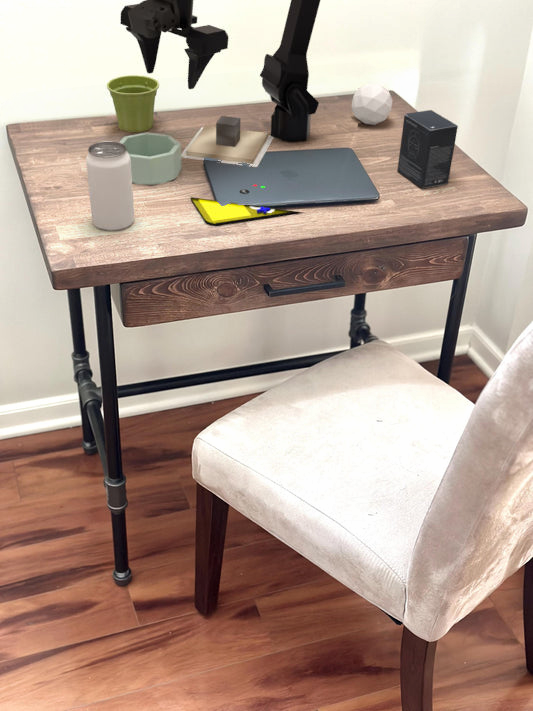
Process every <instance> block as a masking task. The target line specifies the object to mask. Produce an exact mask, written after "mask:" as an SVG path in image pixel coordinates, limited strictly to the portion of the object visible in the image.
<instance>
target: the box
mask: <svg viewBox="0 0 533 711" xmlns="http://www.w3.org/2000/svg"><path fill="white" fill-rule="evenodd" d="M402 123H403V124H402V131H401V140H400V149H399V155H398V156H399V157H398V162H397V173H399V174H401V175H402V176H403V177H405V178H406V179H408V180H409V181H410V182H412V183H414V184H415V185H416V186H418V187H419V188H420V189H429V188H434V187H439V186H445V185H448V183H449V179H450V173H451V168H452V162H453V156H454V151H455V150H454V149H455V145H456V138H457V133H458V129H459V126H458V125H457V124H456V123H454V122H452V121H450V120H449V119H448V118H445V117H444V116H442V115H440V114H439V113H437V112H436V111H434V110H432V109H429V110H421V111H415V112H408V113H405V114H404V117H403V122H402Z"/></svg>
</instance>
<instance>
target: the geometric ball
mask: <svg viewBox="0 0 533 711" xmlns="http://www.w3.org/2000/svg"><path fill="white" fill-rule="evenodd" d="M393 102H394V100H393V98H392V96H391V93H390V91H389V89H387V87H385V86H384V85H382V84H381V83H377V82H367V83H366V84H363V85H361V86H360V87H358V88H357V90H356V91H355V92H354V95H353V96H352V101H351V107H350V108H351V109H352V111H353V113H354V117H355V118H356V119H357V120H359V122H362V123H363V124H365V125H371V126H376V125H378V124H379V123H382V122H383V121H385V120H386V119H387V118H388V116H389V115H390V113H391V111H392V106H393Z"/></svg>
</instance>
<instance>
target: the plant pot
mask: <svg viewBox="0 0 533 711" xmlns="http://www.w3.org/2000/svg"><path fill="white" fill-rule="evenodd" d="M159 88H160V83H159V81H158V80H157V79H156V78H154V77H151V76H146V75H135V74H133V75H123V76H119V77H118V76H117V77H116V78H112V79H111V80H109V81H108V82H107V83H106V89H107V90H108V91H109V93H110V97H111V98H112V101H113V102H112V103H113V106H114V110H115V116H116V120H117V124H118V129H119V130H120V131H121V130H122V131H124V132H129V133H143V132H147V131H148V130H150V129H152V128H153V126H154V125H153V124H154V113H155V112H154V111H155V103H156V102H155V101H156V96H157V91H158V89H159Z"/></svg>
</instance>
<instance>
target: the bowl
mask: <svg viewBox="0 0 533 711" xmlns="http://www.w3.org/2000/svg"><path fill="white" fill-rule="evenodd" d="M119 143H122V144H124V145H125V146H126V147H127V152H128V154H129V156H130V161H131V174H132V184H135V185H144V186H148V185H149V186H150V185H151V186H154V185H161V184H165V183H168V182H171V181H172V180H175V179H176V178H177V177H178V176H179V174H180V172H181V171H182V168H183V167H182V158H181V154H182V144H181V143H180V142H179V141H177V139H175V138H174V137H173V136H172V135H170V134H162V133H157V132H156V133H155V132H147V131H144V132H139V133H136V134H131V135H127V136H126V135H125V136H123V137H122V138H121V139H120V141H119Z"/></svg>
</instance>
